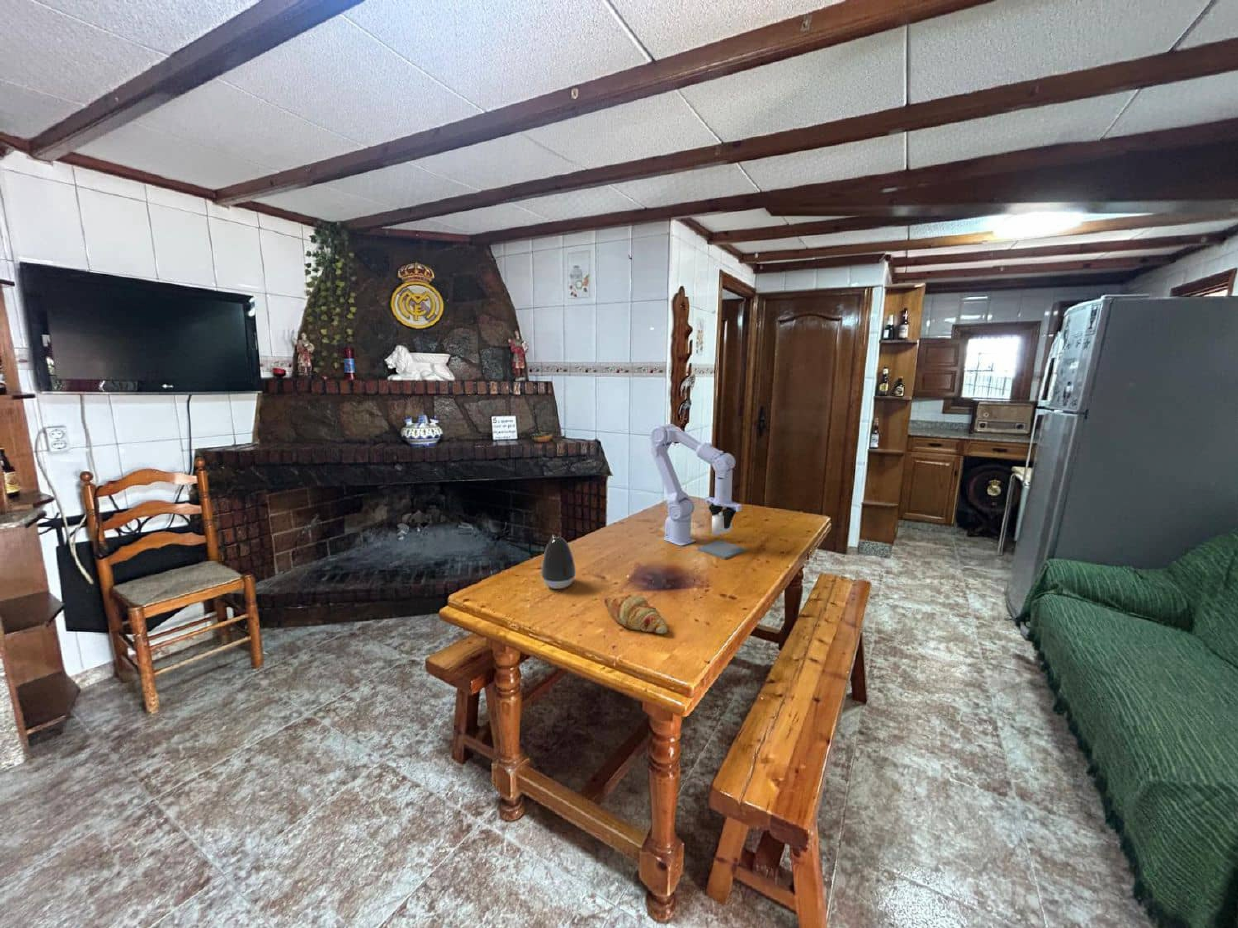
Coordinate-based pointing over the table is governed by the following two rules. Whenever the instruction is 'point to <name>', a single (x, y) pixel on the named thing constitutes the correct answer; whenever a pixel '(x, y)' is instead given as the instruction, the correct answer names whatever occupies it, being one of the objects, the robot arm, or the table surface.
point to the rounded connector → (719, 524)
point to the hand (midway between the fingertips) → (722, 526)
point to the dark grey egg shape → (558, 564)
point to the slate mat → (722, 549)
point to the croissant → (635, 614)
